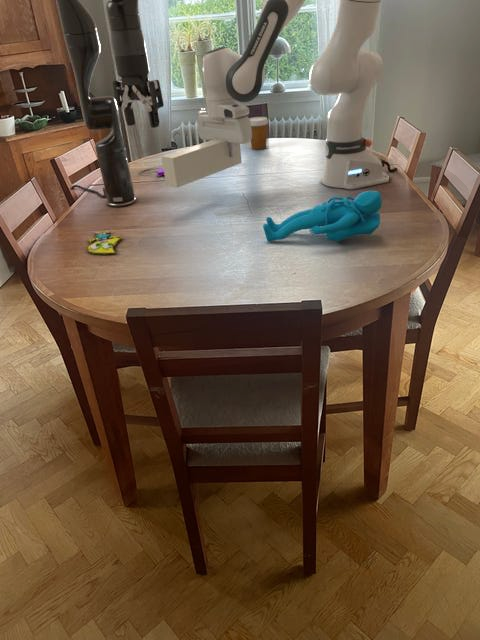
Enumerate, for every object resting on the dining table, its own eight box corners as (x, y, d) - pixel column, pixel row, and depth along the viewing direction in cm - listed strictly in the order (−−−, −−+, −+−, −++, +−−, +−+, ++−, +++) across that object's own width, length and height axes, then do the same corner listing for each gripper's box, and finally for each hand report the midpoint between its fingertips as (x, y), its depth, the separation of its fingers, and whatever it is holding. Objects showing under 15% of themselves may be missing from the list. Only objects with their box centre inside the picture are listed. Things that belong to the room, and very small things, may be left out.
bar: (230, 161, 158) (227, 134, 154) (241, 163, 155) (239, 135, 151) (166, 185, 142) (161, 156, 137) (177, 187, 139) (172, 158, 134)
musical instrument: (136, 181, 187) (185, 170, 185) (134, 175, 186) (183, 165, 184) (148, 168, 208) (192, 158, 206) (147, 163, 207) (191, 153, 205)
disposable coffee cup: (269, 149, 209) (268, 120, 203) (248, 151, 210) (246, 121, 203) (269, 144, 217) (267, 115, 210) (248, 145, 217) (246, 117, 211)
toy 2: (268, 204, 133) (379, 177, 123) (278, 239, 138) (385, 216, 128) (257, 229, 119) (380, 200, 109) (269, 266, 124) (388, 242, 114)
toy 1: (125, 229, 140) (115, 251, 128) (126, 232, 141) (116, 254, 128) (91, 232, 140) (77, 253, 128) (92, 234, 141) (78, 256, 128)
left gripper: (97, 55, 113) (113, 127, 122) (139, 53, 105) (152, 131, 114) (121, 51, 118) (134, 121, 127) (163, 49, 110) (174, 124, 119)
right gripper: (190, 109, 150) (196, 154, 157) (238, 112, 137) (242, 161, 145) (205, 105, 153) (210, 150, 161) (253, 108, 141) (256, 156, 148)
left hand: (143, 126), depth 120 cm, fingers open, 8 cm apart
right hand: (226, 155), depth 153 cm, fingers closed on bar, 5 cm apart
